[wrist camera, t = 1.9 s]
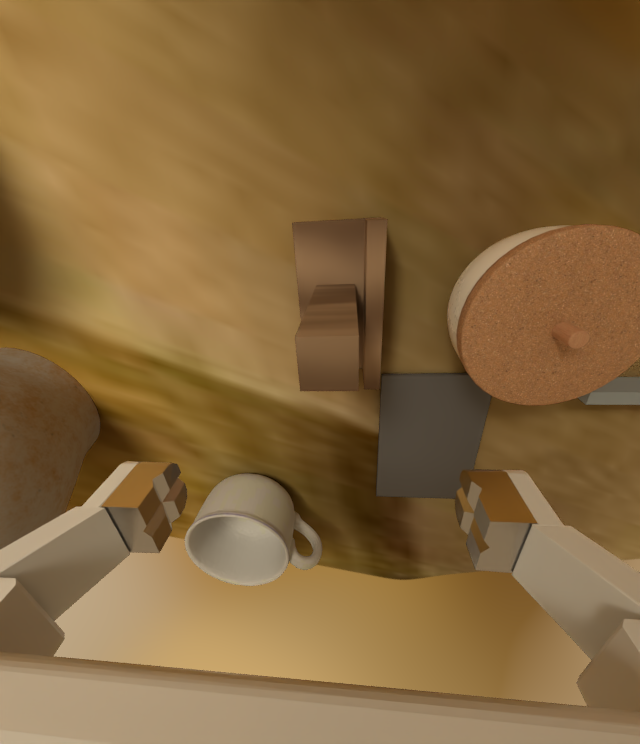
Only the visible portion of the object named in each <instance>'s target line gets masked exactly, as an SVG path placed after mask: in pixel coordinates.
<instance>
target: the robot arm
mask: <svg viewBox="0 0 640 744" xmlns="http://www.w3.org/2000/svg"><path fill="white" fill-rule="evenodd" d="M180 473H181V472H180V469H179V467H178V465H177V464H174V463H161V462H134V461H126V462H124V463H122V464H120V465H119V466H118V467H117V468H116V469H115V471H114V472H113V473H112V474H111V475H110V476H109V477H108V478H107V479H106V480H105V481H104V483H103V484H102V485H101V486H100V487H99V488H98V489H97V490H96V491H95V492H94V493H93V495H92V496H91V497H90V498H89V499H88V500H87V501H86V502H85V503H84V504H83V505H82V506H81V507H74V508H73V509H71V510H69V511H67V512H66V513H64V514H62V515H60V516H59V517H57V518H55V519H53V520H52V521H50V522H48V523H46V524H45V525H43V526H41V527H39V528H38V529H36V530H34V531H32V532H31V533H29V534H27V535H25V536H23V537H22V538H20V539H18V540H16V541H15V542H13V543H11V544H9V545H8V546H6V547H4V548H2V549H1V550H0V744H640V572H638V571H637V570H635V569H634V568H632V567H631V566H629V565H628V564H626V563H625V562H623V561H622V560H620V559H619V558H617V557H616V556H615V555H613V554H612V553H610V552H609V551H607V550H606V549H604V548H603V547H601V546H600V545H598V544H597V543H595V542H594V541H592V540H591V539H589V538H588V537H586V536H585V535H584V534H582V533H581V532H579V531H578V530H576V529H575V528H573V527H572V526H564V525H563V523H562V522H561V520H560V519H559V518H558V516H557V515H556V513H555V512H554V510H553V509H552V508H551V506H550V505H549V503H548V502H547V500H546V499H545V498H544V496H543V495H542V493H541V492H540V490H539V489H538V487H537V486H536V485H535V483H534V482H533V480H532V479H531V477H530V476H529V475H528V473H527V472H525V471H524V470H471V469H463V470H462V472H461V474H460V478H459V481H460V483H461V486H462V487H461V488H460V489H459V490H458V491H457V492H456V497H455V510H456V515H457V519H458V522H459V525H460V528H461V529H462V530H463V531H464V532H465V533H467V534H468V538H467V542H466V545H467V548H468V551H469V554H470V556H471V559H472V562H473V565H474V567H475V570H482V571H495V572H506V573H512V575H513V577H514V578H515V579H516V580H517V581H518V582H519V583H520V584H521V585H522V586H523V587H524V588H525V590H526V591H527V592H528V593H529V594H530V595H531V596H532V597H533V598H534V599H535V600H536V601H537V602H538V603H539V604H540V606H541V607H542V608H543V609H544V610H545V611H546V612H547V613H548V614H549V615H550V616H551V617H552V618H553V619H554V620H555V622H556V623H557V624H558V625H559V626H560V627H561V628H562V629H563V630H564V631H565V632H566V633H567V634H568V635H569V636H570V638H572V640H573V641H574V642H575V643H576V644H577V645H578V646H579V647H580V648H581V649H582V650H583V651H584V652H585V653H586V654H587V656H588V657H589V658H590V659H591V660H592V661H591V662H590V663H589V664H588V666H587V667H586V668H585V670H584V671H583V672H582V673H581V675H580V676H579V678H578V681H577V685H578V687H579V689H580V691H581V694H582V696H583V698H584V700H585V702H586V704H587V706H577V705H567V704H556V703H546V702H535V701H524V700H514V699H502V698H492V697H482V696H471V695H459V694H450V693H439V692H428V691H417V690H407V689H396V688H386V687H375V686H364V685H353V684H343V683H332V682H321V681H310V680H300V679H290V678H279V677H278V678H277V677H268V676H258V675H247V674H236V673H225V672H215V671H203V670H193V669H183V668H172V667H160V666H151V665H140V664H129V663H118V662H108V661H96V660H85V659H75V658H65V657H54V654H55V653H56V651H57V650H58V648H59V647H60V645H61V643H62V642H63V640H64V632H63V631H62V629H61V628H60V627H59V626H58V625H57V624H56V623H55V622H54V621H55V620H56V619H57V618H58V617H59V616H60V615H61V614H63V613H64V612H65V611H66V610H67V609H68V608H69V607H71V606H72V605H73V604H74V603H75V602H76V601H77V600H79V598H81V597H82V596H83V595H84V594H85V593H86V592H88V591H89V590H90V589H91V588H92V587H93V586H94V585H96V584H97V583H98V582H99V581H100V580H101V579H102V578H104V576H106V575H107V574H108V573H109V572H110V571H111V570H112V569H114V568H115V567H116V566H117V565H118V564H119V563H121V562H122V561H123V560H124V559H125V558H126V557H127V556H129V555H130V552H142V553H143V552H144V553H159V552H160V551H161V549H162V547H163V546H164V544H165V542H166V540H167V539H168V537H169V535H170V533H171V531H172V526H171V523H172V522H173V521H174V520H176V519H177V518H178V517H180V515H181V513H182V511H183V510H184V508H185V504H186V500H187V489H186V486H185V483H184V482H182V481H181V480H180V479H179V478H178V477H179V475H180Z"/></svg>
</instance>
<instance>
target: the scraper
mask: <svg viewBox="0 0 640 744" xmlns="http://www.w3.org/2000/svg"><path fill="white" fill-rule="evenodd" d="M292 225H293V237H294V248H295V260H296V271H297V283H298V294H299V306H300V317H301V324H300V326H299V328H298V331H297V333H296V336H295V343H296V353H297V363H298V373H299V383H300V391H359V369H363V379H364V389H380V374H381V351H382V329H383V307H384V285H385V263H386V240H387V219H384V218H381V217H379V218H361V219H344V220H327V221H309V222H294V223H292Z"/></svg>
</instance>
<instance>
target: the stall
mask: <svg viewBox="0 0 640 744" xmlns="http://www.w3.org/2000/svg"><path fill="white" fill-rule="evenodd" d="M578 399H579V400H581V401H582V402H583V403H584V404H585V405H640V377H617V378H615V379H614V380H612V381H611V382H609V383H607V384H606V385H604V386H602V387H600V388H598V389H596V390H594V391H593V392H591V393H589V394H586V395H583V396H581V397H578Z"/></svg>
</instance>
